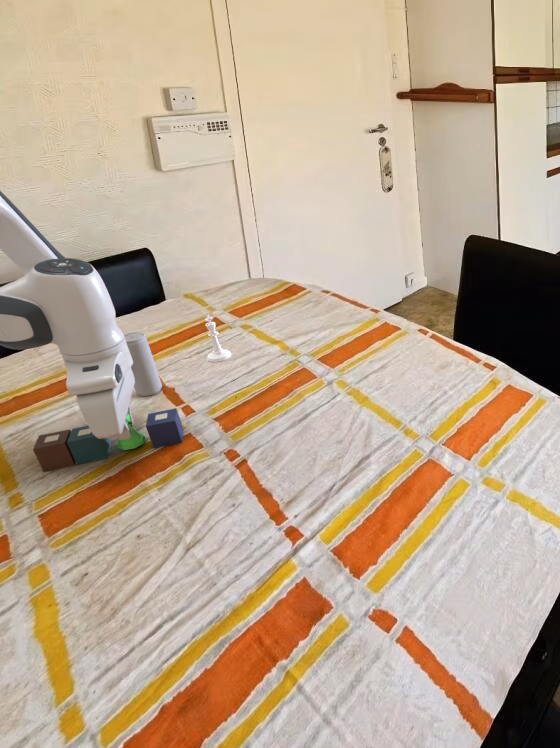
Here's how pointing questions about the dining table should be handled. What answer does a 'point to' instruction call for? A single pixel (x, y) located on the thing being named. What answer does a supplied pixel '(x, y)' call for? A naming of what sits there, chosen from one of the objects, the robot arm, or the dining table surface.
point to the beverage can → (143, 365)
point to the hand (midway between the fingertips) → (126, 432)
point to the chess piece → (215, 344)
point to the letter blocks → (100, 441)
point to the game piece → (131, 438)
